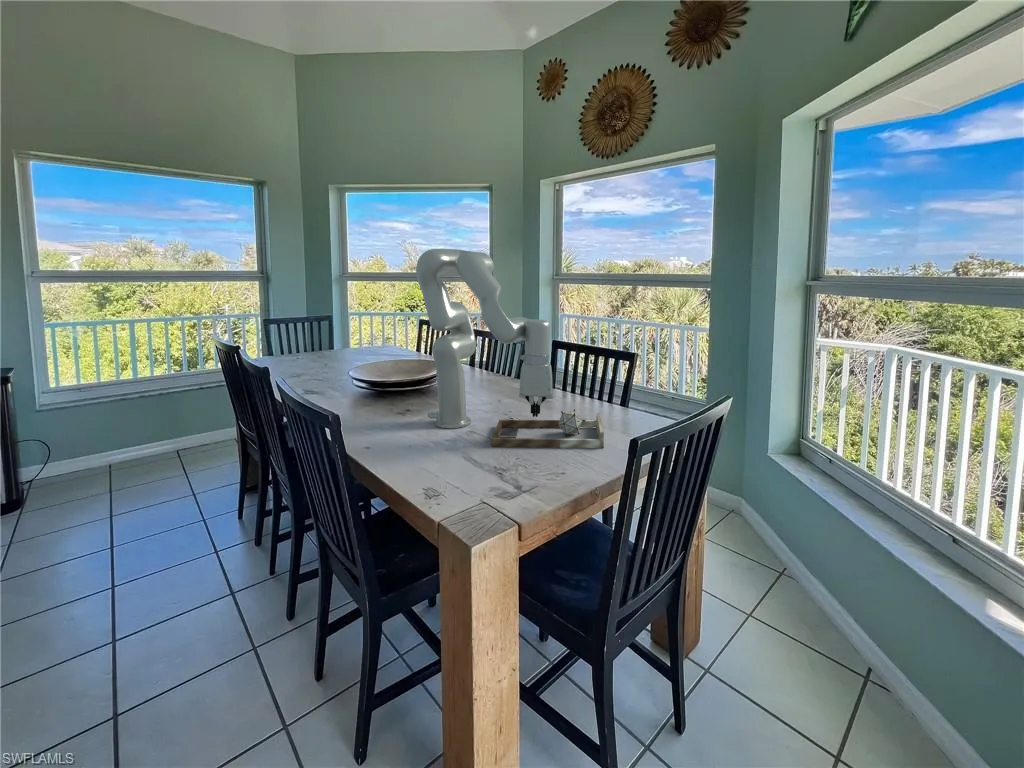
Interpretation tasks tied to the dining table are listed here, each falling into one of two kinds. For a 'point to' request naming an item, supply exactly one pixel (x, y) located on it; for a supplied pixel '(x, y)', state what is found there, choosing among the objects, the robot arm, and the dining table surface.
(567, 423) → the game die
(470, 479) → the dining table surface
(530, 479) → the dining table surface
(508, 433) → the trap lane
